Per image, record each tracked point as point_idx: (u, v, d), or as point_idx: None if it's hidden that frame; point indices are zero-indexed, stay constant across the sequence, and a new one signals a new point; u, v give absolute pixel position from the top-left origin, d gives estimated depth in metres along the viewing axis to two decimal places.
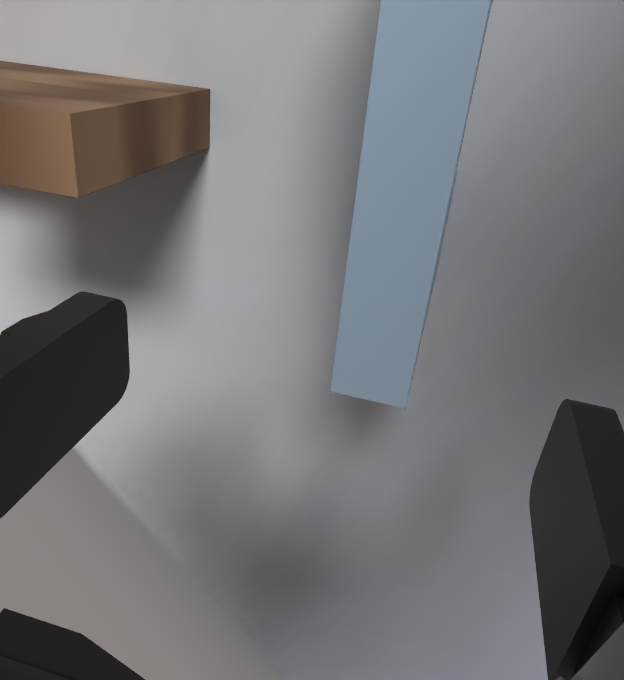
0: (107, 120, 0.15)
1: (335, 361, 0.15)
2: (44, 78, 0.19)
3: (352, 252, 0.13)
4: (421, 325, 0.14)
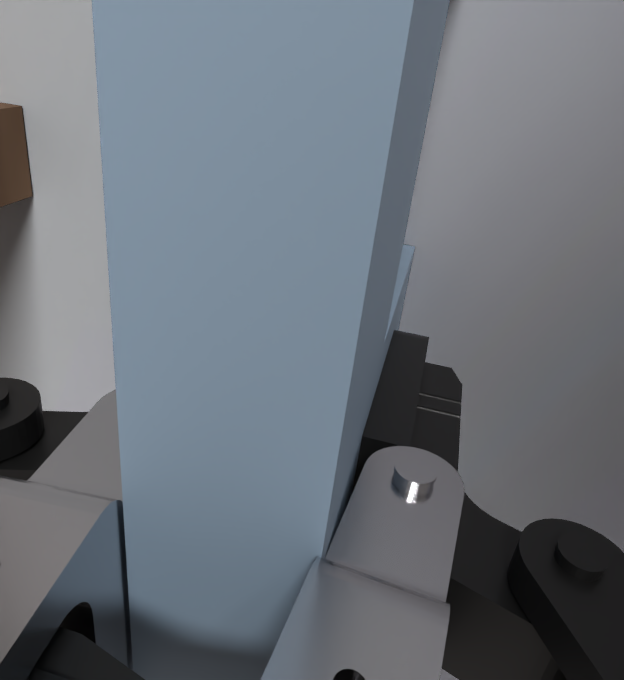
0: None
1: None
2: None
3: (132, 517, 0.06)
4: None
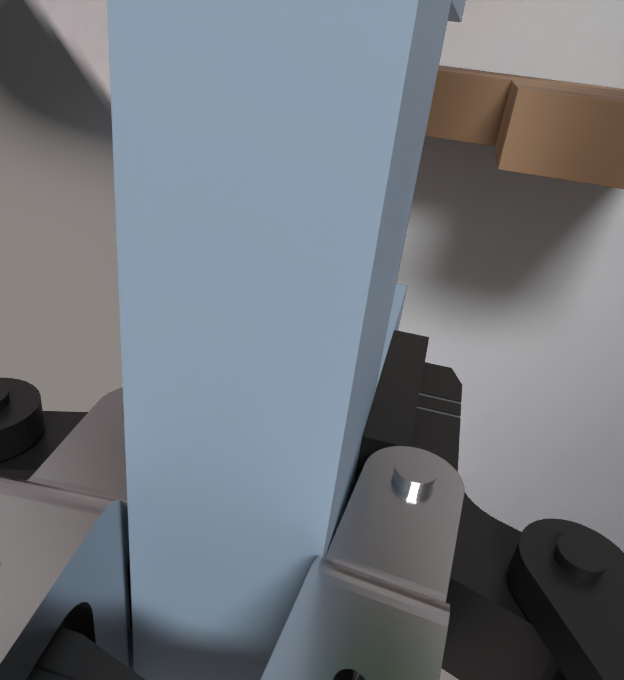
0: None
1: None
2: (543, 82, 0.19)
3: (138, 565, 0.06)
4: None
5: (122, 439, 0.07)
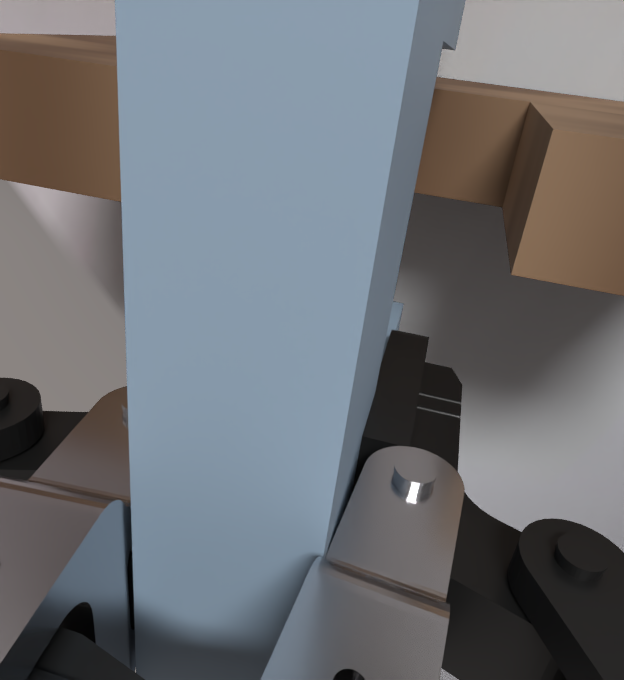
0: None
1: None
2: (579, 104, 0.12)
3: (141, 585, 0.06)
4: None
5: (121, 439, 0.07)
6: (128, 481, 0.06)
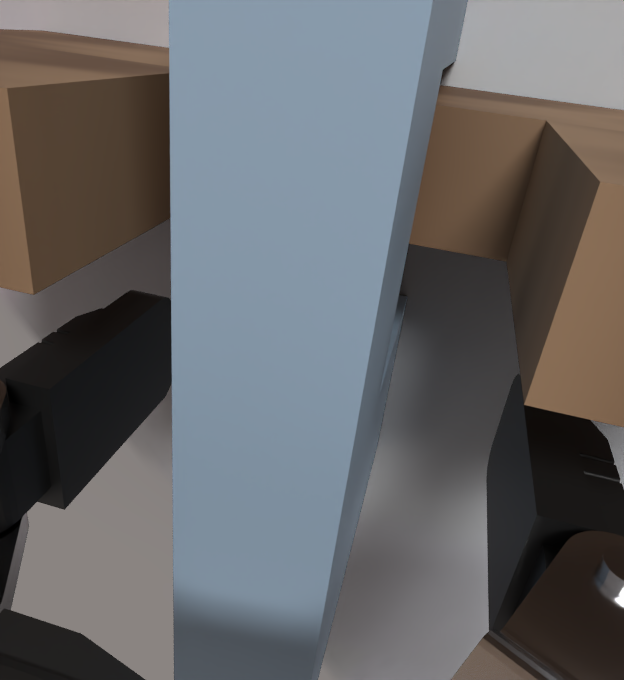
0: None
1: None
2: (612, 122, 0.08)
3: (180, 551, 0.07)
4: (311, 666, 0.08)
5: None
6: None
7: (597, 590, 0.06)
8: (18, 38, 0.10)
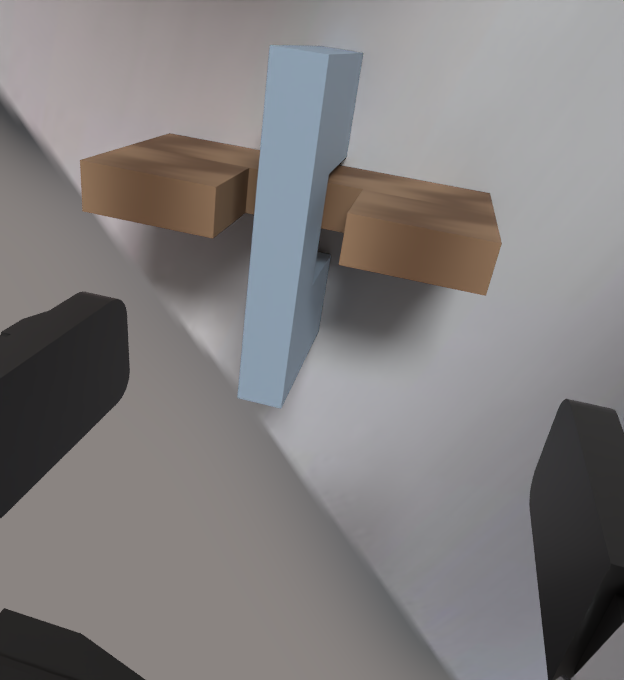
0: None
1: (240, 380, 0.25)
2: (389, 188, 0.25)
3: (247, 320, 0.24)
4: (286, 361, 0.24)
5: None
6: None
7: None
8: (175, 147, 0.27)
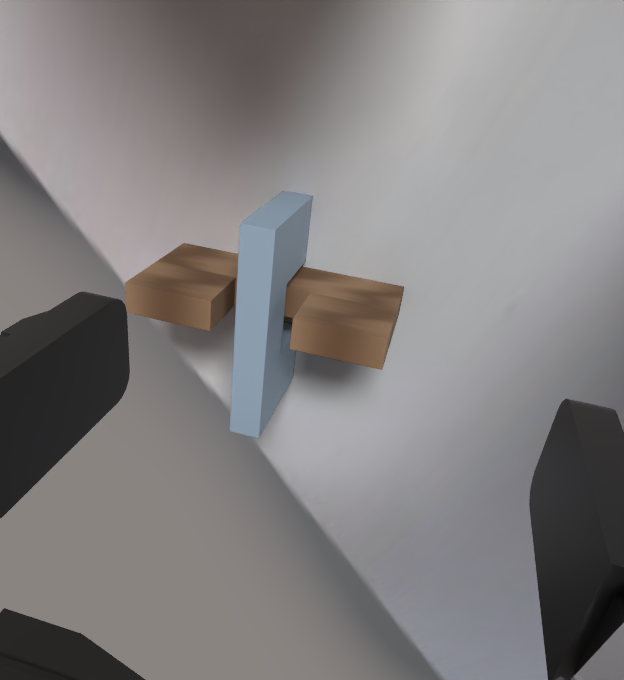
0: (390, 332, 0.34)
1: (230, 419, 0.38)
2: (330, 289, 0.37)
3: (233, 381, 0.36)
4: (260, 407, 0.37)
5: None
6: None
7: None
8: (187, 259, 0.39)
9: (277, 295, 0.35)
